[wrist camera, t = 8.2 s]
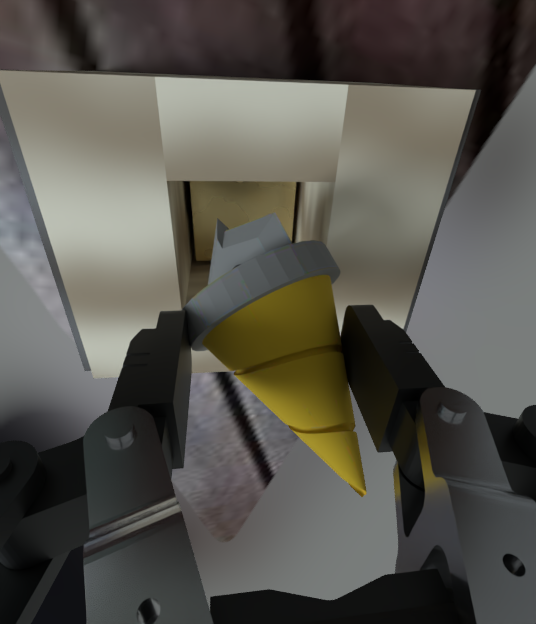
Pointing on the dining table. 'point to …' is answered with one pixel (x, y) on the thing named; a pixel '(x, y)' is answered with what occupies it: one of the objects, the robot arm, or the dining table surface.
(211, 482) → the dining table surface
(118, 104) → the socket block
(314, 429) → the drill bit
